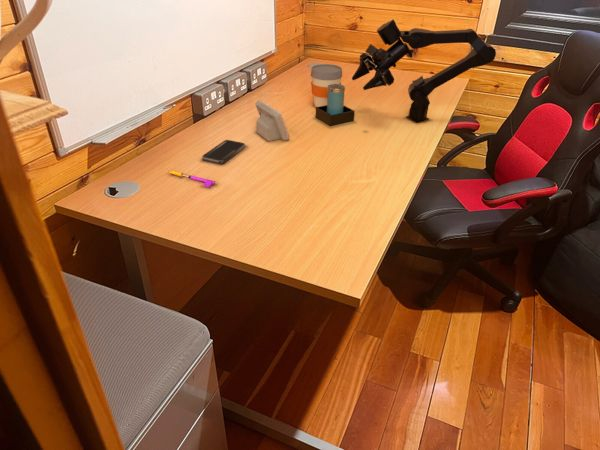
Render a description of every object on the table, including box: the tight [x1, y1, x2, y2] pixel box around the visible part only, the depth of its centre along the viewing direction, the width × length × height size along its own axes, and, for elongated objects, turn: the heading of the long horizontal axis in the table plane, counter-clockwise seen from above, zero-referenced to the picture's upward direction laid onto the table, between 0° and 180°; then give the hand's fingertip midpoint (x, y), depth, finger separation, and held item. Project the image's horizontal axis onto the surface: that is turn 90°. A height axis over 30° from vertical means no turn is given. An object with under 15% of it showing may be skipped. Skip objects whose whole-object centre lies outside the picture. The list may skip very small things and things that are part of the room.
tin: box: [327, 84, 346, 115], centre depth 174 cm, size 6×6×12 cm
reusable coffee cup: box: [310, 63, 343, 108], centre depth 188 cm, size 13×13×15 cm
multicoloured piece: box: [169, 170, 216, 189], centre depth 137 cm, size 3×1×16 cm
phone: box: [202, 139, 246, 165], centre depth 152 cm, size 8×1×15 cm
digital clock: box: [255, 100, 290, 142], centre depth 163 cm, size 16×9×11 cm, turn 20°
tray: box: [315, 105, 356, 127], centre depth 177 cm, size 11×10×4 cm
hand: (357, 84), depth 170 cm, fingers open, 9 cm apart
